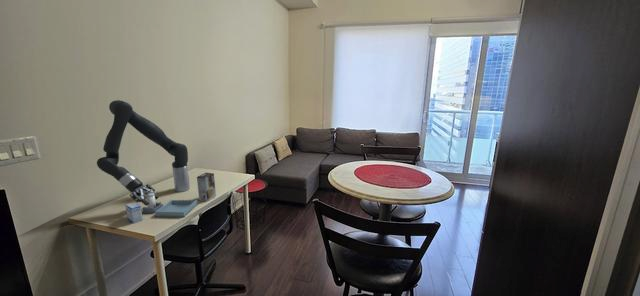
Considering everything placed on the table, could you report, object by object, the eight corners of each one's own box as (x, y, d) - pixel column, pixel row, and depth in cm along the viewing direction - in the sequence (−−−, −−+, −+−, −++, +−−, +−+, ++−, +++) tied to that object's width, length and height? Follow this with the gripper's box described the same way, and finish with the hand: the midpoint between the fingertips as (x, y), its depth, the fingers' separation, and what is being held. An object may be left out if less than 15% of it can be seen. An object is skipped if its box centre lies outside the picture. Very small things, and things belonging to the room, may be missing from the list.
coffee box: (207, 195, 180) (205, 172, 177) (216, 196, 179) (214, 173, 175) (198, 200, 172) (196, 176, 168) (207, 201, 170) (205, 177, 166)
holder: (151, 206, 162) (151, 202, 161) (163, 207, 162) (162, 202, 161) (143, 212, 154) (142, 208, 154) (155, 213, 154) (154, 208, 154)
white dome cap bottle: (151, 208, 160) (149, 192, 158) (158, 208, 160) (156, 192, 158) (146, 211, 156) (144, 195, 154) (153, 211, 156) (151, 195, 154)
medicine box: (127, 219, 147) (124, 204, 145) (136, 216, 150) (134, 201, 148) (133, 223, 143) (131, 208, 141) (143, 220, 146) (140, 205, 144)
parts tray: (171, 204, 166) (171, 199, 165) (197, 204, 166) (197, 200, 165) (155, 216, 150) (155, 211, 150) (184, 217, 150) (183, 212, 149)
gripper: (125, 182, 147) (149, 202, 149) (142, 174, 161) (164, 192, 163) (117, 191, 148) (140, 210, 151) (135, 182, 162) (156, 200, 164)
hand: (152, 201), depth 157 cm, fingers open, 8 cm apart
